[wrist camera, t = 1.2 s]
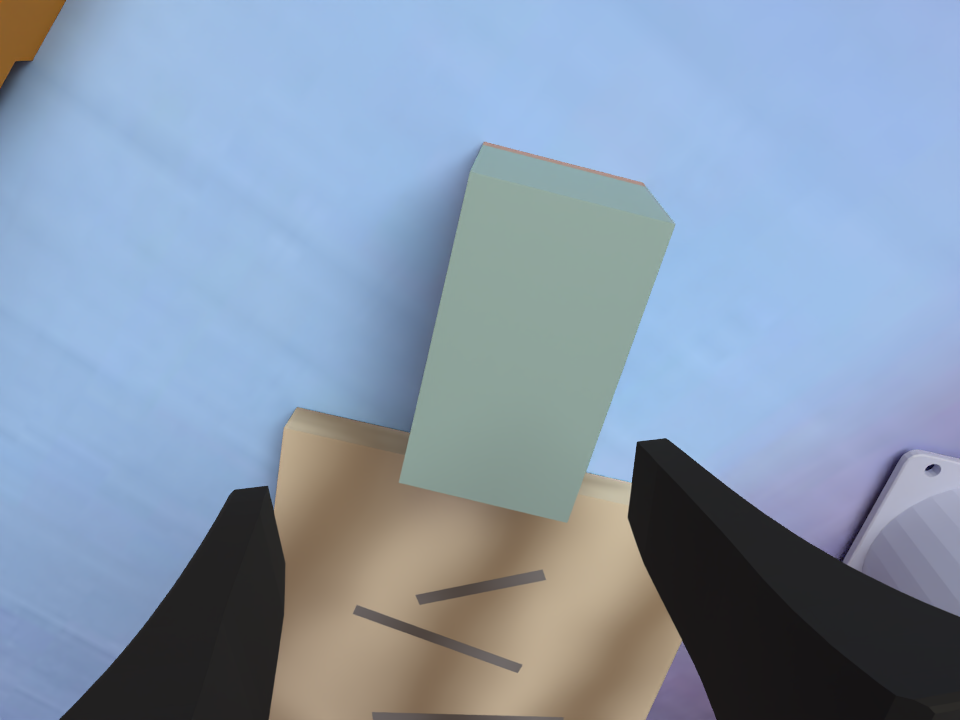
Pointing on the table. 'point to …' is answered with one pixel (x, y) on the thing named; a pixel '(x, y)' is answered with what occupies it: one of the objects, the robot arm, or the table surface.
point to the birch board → (453, 594)
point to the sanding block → (532, 330)
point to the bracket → (24, 29)
